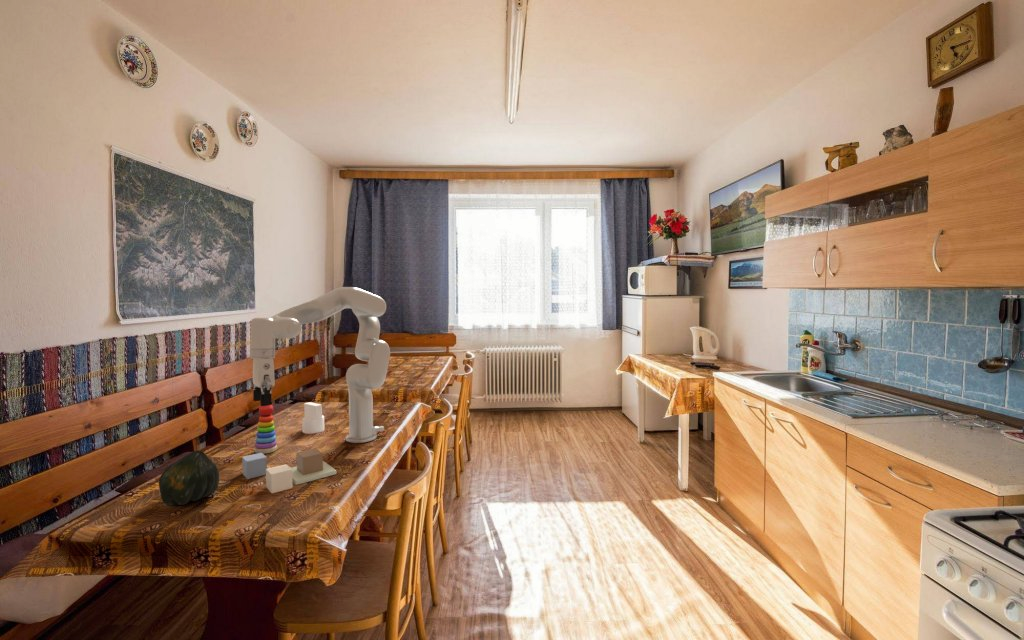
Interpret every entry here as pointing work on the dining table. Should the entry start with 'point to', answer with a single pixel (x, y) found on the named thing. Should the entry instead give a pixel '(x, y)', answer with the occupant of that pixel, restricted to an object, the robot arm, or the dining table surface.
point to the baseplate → (313, 475)
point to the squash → (188, 479)
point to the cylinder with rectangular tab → (312, 418)
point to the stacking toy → (266, 431)
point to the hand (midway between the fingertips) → (262, 403)
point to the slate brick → (254, 465)
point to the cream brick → (279, 478)
